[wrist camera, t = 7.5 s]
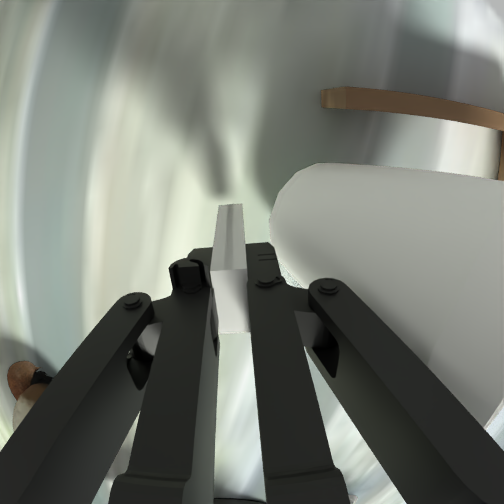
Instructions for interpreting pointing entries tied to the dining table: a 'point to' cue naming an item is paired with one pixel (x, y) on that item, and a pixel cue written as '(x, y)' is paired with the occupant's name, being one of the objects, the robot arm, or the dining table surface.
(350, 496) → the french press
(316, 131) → the dining table surface
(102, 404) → the robot arm
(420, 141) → the dining table surface
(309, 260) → the foam cup
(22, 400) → the white and brown lump
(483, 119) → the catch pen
